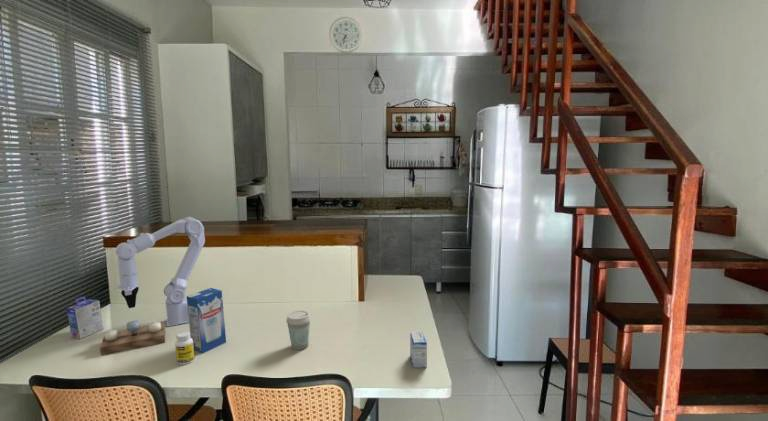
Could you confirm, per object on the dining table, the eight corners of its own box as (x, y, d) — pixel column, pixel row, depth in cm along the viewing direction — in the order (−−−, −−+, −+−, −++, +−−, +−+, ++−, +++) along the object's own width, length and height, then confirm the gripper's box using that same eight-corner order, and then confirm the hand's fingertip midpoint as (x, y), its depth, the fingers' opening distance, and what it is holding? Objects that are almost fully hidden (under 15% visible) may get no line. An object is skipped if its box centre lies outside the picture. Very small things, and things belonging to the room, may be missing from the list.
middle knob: (140, 330, 159) (139, 319, 159) (139, 334, 156) (138, 323, 155) (128, 333, 157) (126, 322, 157) (127, 337, 154) (125, 325, 153)
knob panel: (165, 330, 167) (164, 323, 166) (164, 342, 156) (164, 335, 156) (105, 341, 158) (104, 334, 158) (101, 355, 147) (99, 347, 147)
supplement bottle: (176, 366, 139) (173, 338, 137) (177, 359, 144) (174, 332, 142) (194, 362, 141) (191, 335, 139) (194, 355, 146) (192, 329, 144)
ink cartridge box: (94, 327, 172) (89, 293, 169) (104, 328, 170) (99, 294, 168) (69, 337, 162) (64, 301, 160) (80, 339, 161) (74, 303, 158)
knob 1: (119, 340, 156) (118, 328, 156) (118, 344, 153) (117, 333, 152) (106, 342, 155) (105, 331, 154) (105, 347, 151) (103, 335, 150)
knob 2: (161, 331, 163) (160, 321, 162) (161, 335, 159) (160, 324, 158) (150, 334, 161) (148, 323, 160) (149, 338, 157) (148, 327, 157)
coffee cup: (291, 354, 145) (289, 321, 143) (285, 344, 153) (283, 313, 151) (315, 348, 149) (313, 316, 147) (308, 338, 157) (306, 308, 155)
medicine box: (410, 356, 142) (409, 331, 141) (423, 355, 143) (422, 331, 141) (413, 368, 134) (413, 342, 133) (427, 367, 135) (427, 342, 133)
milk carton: (202, 353, 147) (197, 299, 144) (191, 349, 150) (186, 296, 147) (226, 342, 156) (221, 290, 152) (215, 338, 159) (211, 287, 156)
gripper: (117, 270, 167) (121, 303, 169) (113, 280, 154) (118, 315, 156) (138, 267, 170) (142, 299, 172) (135, 277, 157) (139, 312, 159)
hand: (132, 307), depth 164 cm, fingers closed
